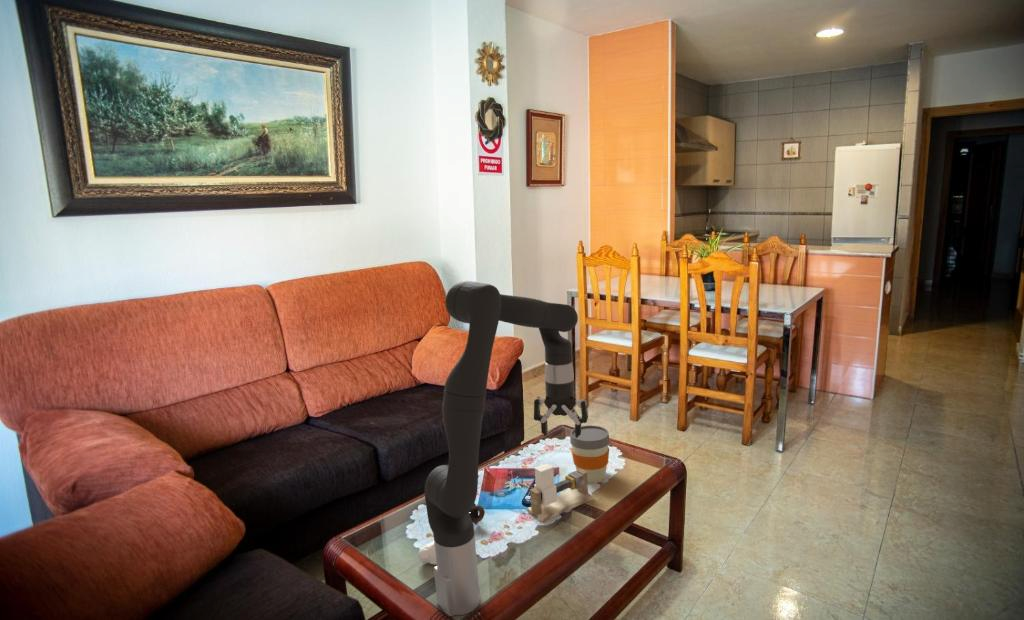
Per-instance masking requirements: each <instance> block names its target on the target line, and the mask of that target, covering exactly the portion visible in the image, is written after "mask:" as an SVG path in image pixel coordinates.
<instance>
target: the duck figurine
mask: <svg viewBox="0 0 1024 620" xmlns="http://www.w3.org/2000/svg"><path fill="white" fill-rule="evenodd" d="M429 535H430V536H431V537H432V538H434V535H433V532H432V531H430V533H429ZM417 555H418V559H419V561H420V562H421V563H422V564H430V565H432V566H433V565H434V566H435V565H436V566H437V564H436V554H435V544H434V539H432V541H431V542H430V543H427V544H426V545H423V546H422V547H421V549H420V550H419V552H418V554H417Z"/></svg>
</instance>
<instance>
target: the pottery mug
mask: <svg viewBox="0 0 1024 620" xmlns="http://www.w3.org/2000/svg"><path fill="white" fill-rule="evenodd" d="M469 512H471V513H469ZM469 512H468V515H469V516H470V518H471V519H472V521H473V525H478V523H479V522H481V521H482V520H483V519H484V516H485V515H486V511H485V509H484V507H483V506H482V505H477V504H476V502H475V503H474V505H473V507H472V509H471V510H470V511H469Z"/></svg>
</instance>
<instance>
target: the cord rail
mask: <svg viewBox="0 0 1024 620" xmlns="http://www.w3.org/2000/svg"><path fill="white" fill-rule="evenodd" d="M564 478H565V479H564V480H562V481H558V482H557V483H554V485H555V486H556V492H557V501H556V502H554V503H551V504H549V505H547V506H544V505H542V504H541V499H542V493H541V492H540V491H539V490H537V489H536V488H534V487H532V488H530V490H529V493H530V496H529V497H530V506H529V507H527V508H526V509H527V513H529V514H530V515H532V516H533V517H534V516H535V517H534V518H536V519H537V518H538V519H539V522H542V523H543V522H545V521H548V520H549V519H552V518H554V517H556V516H558V515H561V514H564V513H565V512H567V511H570V510H572V509H574V508H576V507H579V506H580V505H581V506H582V505H583V504H585V503H587V502H589V501H592V500H593V497H594V496H593V494H591V493H589V483H588V478H587V472H586V471H584V470H582V469H579V470H577V471H576V470H575V471H572V472H569V473H568V475H565V477H564ZM568 489H569V490H568ZM565 490H567V491H565ZM563 491H564V492H563ZM560 492H562V493H560ZM558 493H560V494H558ZM538 519H537V520H538ZM547 519H548V520H547Z"/></svg>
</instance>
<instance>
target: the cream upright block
mask: <svg viewBox="0 0 1024 620" xmlns="http://www.w3.org/2000/svg"><path fill="white" fill-rule="evenodd" d="M554 474H555V473H554V466H553V465H550V464H549V463H544V464H542V465H539V466H536V467H534V478H535V484H533V488H536V489H537V490H539V491H540V492H541V493H542V499H541V504H542V505H544V506H547V505H549V504H551V503H554V502H556V501H557V495H558V493H557V492H556V486H555V485H554V484H555V475H554Z"/></svg>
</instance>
